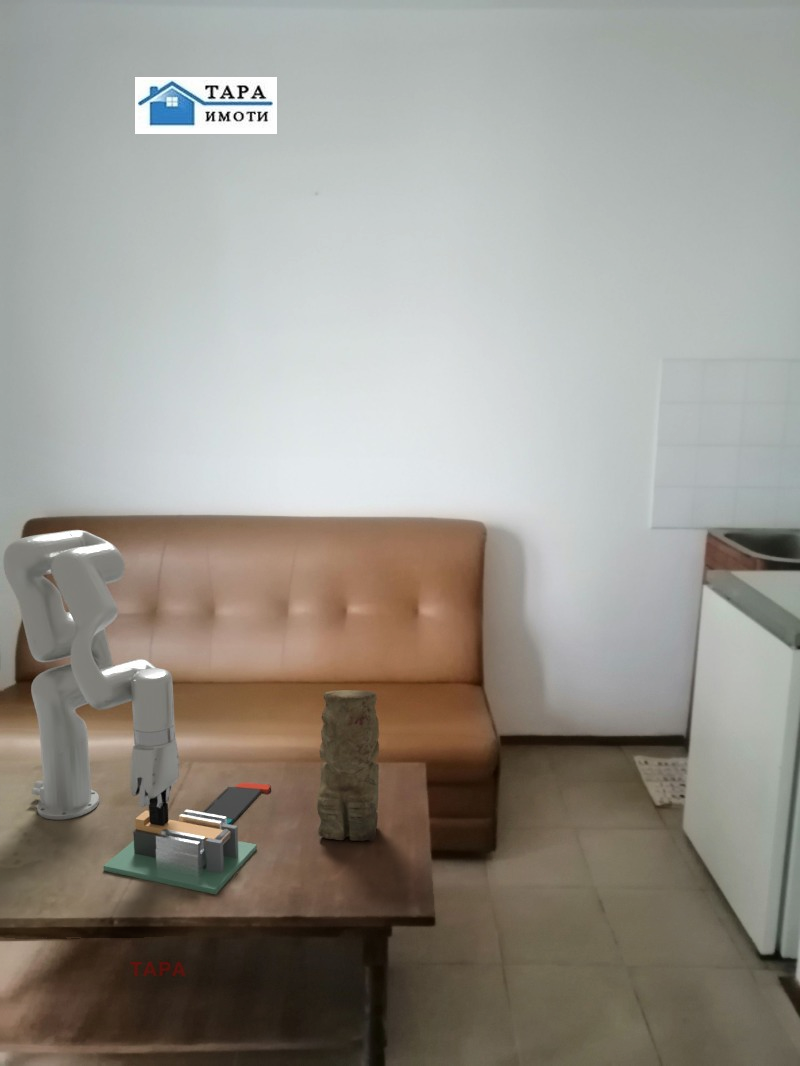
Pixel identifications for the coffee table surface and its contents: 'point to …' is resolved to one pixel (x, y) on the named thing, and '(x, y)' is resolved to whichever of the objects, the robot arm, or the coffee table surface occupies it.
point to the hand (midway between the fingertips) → (159, 822)
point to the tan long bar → (181, 828)
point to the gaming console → (236, 800)
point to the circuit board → (220, 869)
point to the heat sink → (186, 845)
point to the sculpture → (349, 766)
